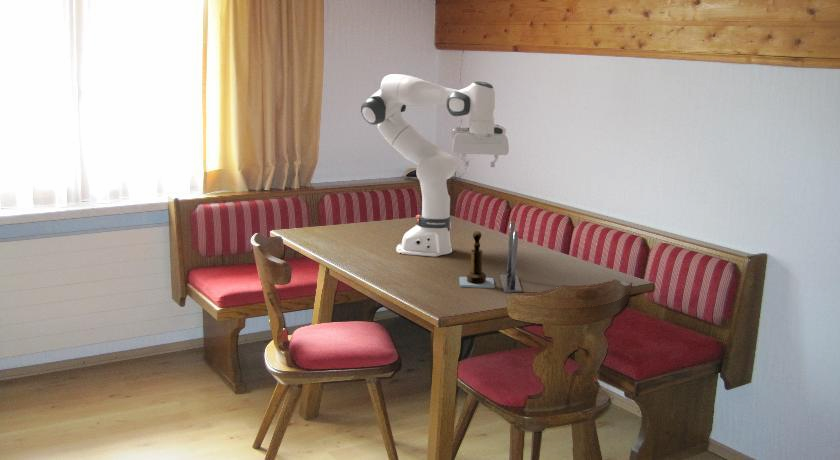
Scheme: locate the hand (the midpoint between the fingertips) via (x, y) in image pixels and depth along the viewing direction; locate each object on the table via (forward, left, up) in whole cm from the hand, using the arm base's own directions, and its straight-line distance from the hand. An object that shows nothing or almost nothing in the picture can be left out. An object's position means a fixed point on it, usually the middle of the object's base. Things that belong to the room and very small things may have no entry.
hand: (479, 166), depth 310 cm
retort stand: (+12, -16, -39) cm, 44 cm away
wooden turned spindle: (0, -16, -38) cm, 42 cm away
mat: (0, -16, -39) cm, 42 cm away
